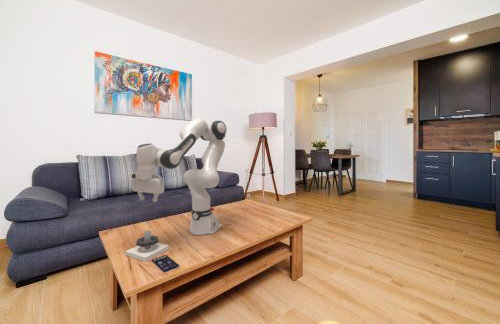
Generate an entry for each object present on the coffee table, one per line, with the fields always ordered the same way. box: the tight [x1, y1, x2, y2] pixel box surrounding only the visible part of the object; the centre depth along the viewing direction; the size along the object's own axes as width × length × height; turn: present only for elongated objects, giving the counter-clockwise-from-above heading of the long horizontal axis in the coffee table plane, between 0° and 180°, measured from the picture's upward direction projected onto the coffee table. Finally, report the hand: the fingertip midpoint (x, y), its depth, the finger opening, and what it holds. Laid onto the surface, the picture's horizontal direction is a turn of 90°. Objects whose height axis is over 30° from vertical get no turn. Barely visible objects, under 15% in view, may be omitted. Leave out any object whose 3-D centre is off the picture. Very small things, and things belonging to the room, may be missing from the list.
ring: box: [135, 235, 159, 247], centre depth 110 cm, size 10×10×1 cm
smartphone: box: [150, 254, 181, 274], centre depth 100 cm, size 8×1×15 cm
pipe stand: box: [124, 230, 170, 263], centre depth 110 cm, size 14×14×10 cm
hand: (148, 200), depth 117 cm, fingers open, 8 cm apart
